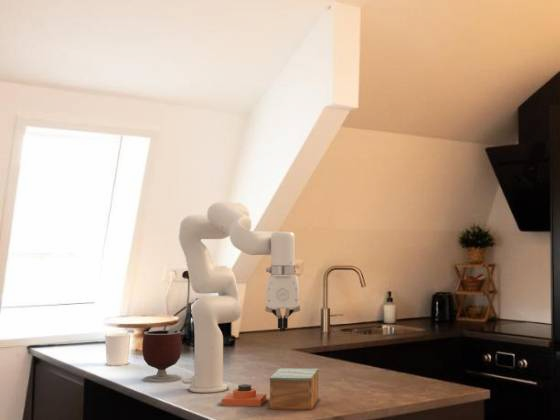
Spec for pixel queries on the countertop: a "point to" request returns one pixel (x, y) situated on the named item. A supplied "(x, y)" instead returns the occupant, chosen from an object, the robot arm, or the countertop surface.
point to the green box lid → (294, 374)
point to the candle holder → (117, 348)
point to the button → (244, 387)
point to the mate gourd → (162, 352)
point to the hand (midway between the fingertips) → (282, 330)
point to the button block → (244, 398)
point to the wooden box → (293, 394)
